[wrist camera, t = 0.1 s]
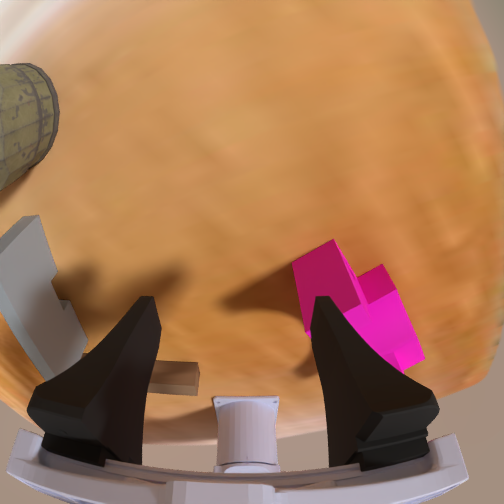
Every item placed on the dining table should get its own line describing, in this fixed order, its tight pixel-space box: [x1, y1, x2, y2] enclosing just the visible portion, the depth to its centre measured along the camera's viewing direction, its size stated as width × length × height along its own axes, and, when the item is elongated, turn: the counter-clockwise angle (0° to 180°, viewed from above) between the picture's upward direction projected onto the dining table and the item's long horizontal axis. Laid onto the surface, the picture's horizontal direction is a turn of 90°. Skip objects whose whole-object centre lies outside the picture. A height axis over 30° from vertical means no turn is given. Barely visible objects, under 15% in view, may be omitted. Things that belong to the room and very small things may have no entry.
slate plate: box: [0, 215, 88, 381], centre depth 23 cm, size 15×2×7 cm, turn 0°
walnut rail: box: [81, 353, 200, 396], centre depth 30 cm, size 17×2×3 cm, turn 90°
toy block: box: [292, 239, 425, 374], centre depth 24 cm, size 15×6×8 cm, turn 35°
